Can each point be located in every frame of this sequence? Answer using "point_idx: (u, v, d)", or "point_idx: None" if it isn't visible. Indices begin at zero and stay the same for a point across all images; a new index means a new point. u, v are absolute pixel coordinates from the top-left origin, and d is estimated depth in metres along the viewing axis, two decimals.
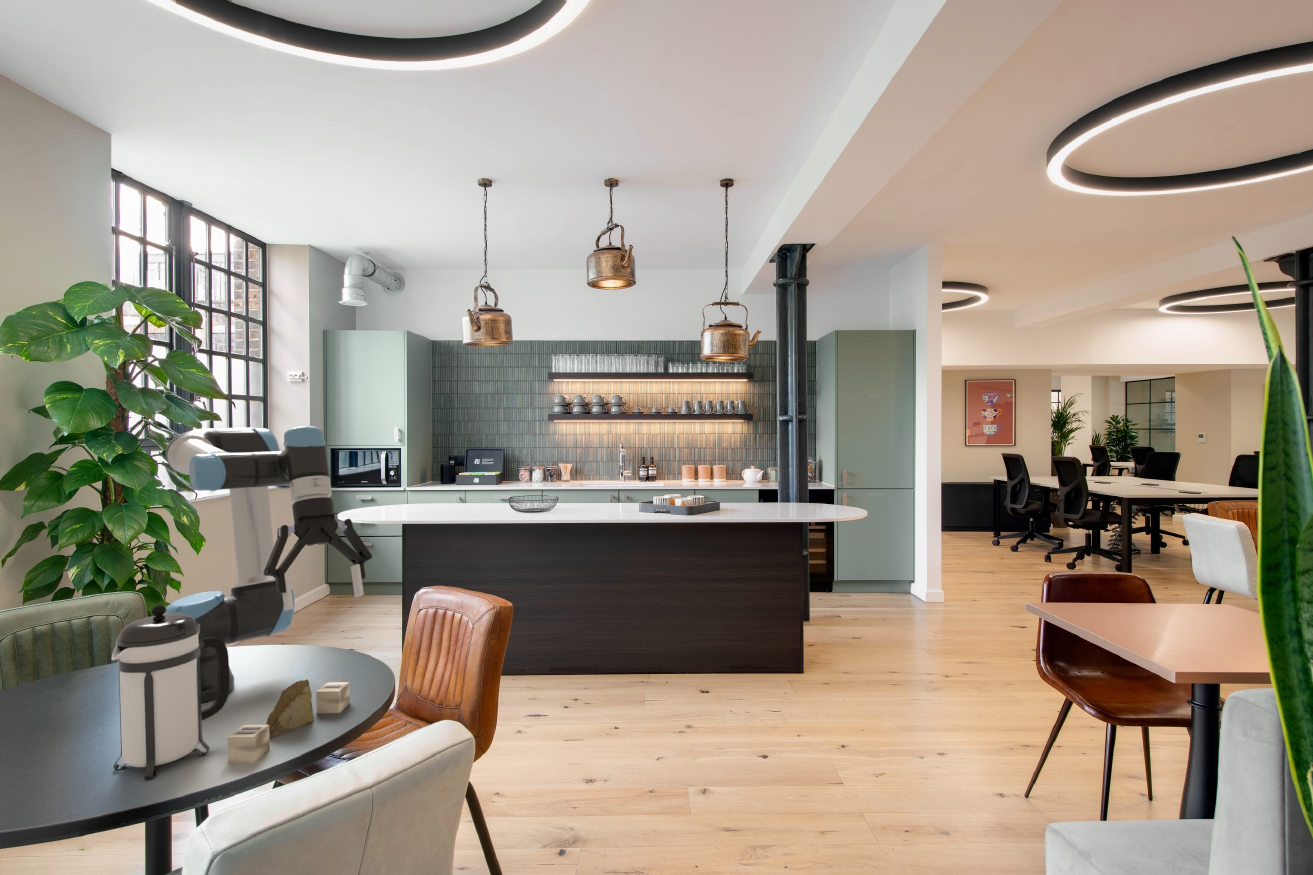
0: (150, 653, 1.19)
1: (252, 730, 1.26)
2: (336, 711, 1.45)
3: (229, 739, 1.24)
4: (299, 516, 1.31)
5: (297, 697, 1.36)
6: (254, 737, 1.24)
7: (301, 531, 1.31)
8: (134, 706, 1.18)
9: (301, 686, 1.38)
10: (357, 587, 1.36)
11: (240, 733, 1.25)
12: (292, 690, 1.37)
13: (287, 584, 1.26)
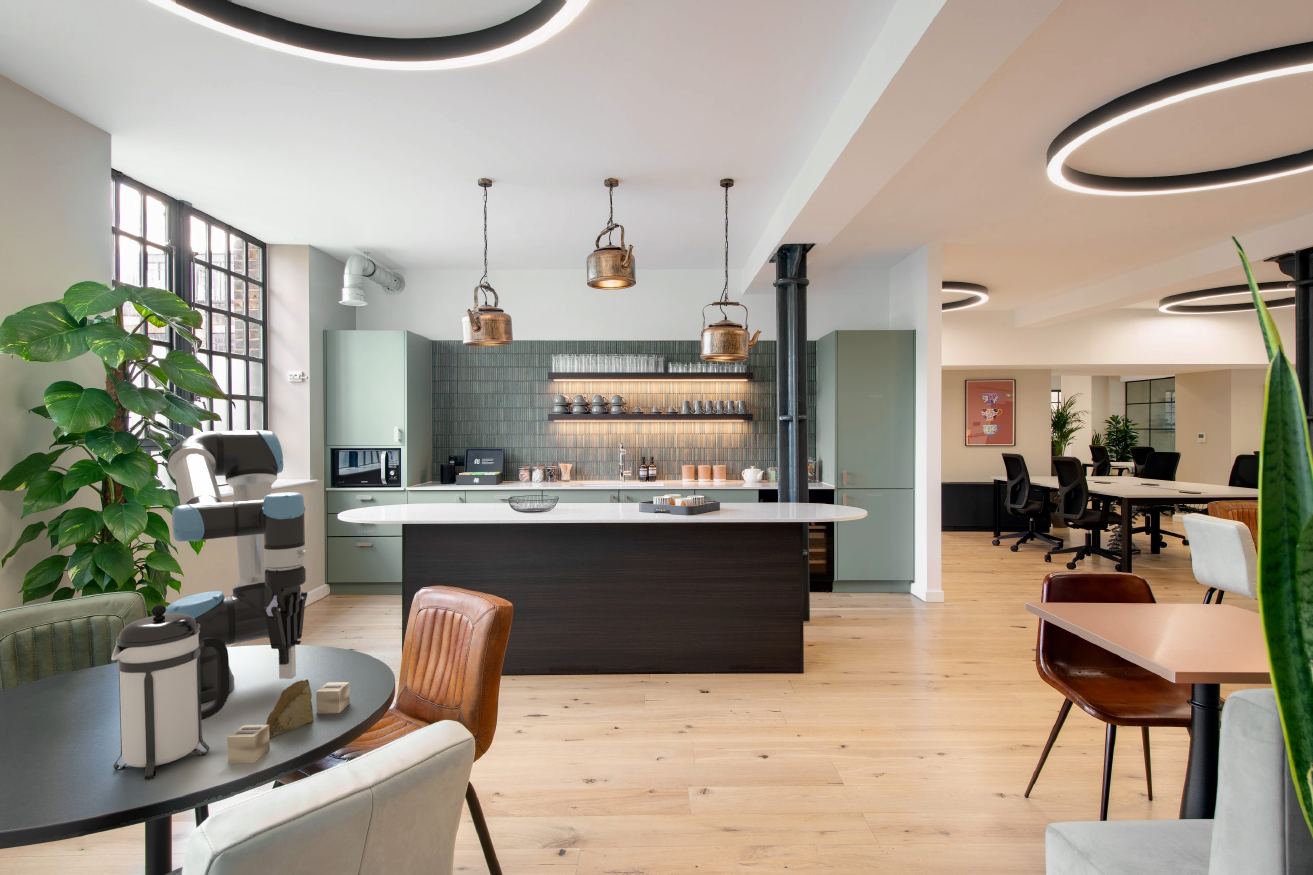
0: (150, 653, 1.19)
1: (252, 730, 1.26)
2: (336, 711, 1.45)
3: (229, 739, 1.24)
4: (283, 586, 1.34)
5: (297, 697, 1.36)
6: (254, 737, 1.24)
7: (282, 601, 1.34)
8: (134, 706, 1.18)
9: (301, 686, 1.38)
10: None
11: (240, 733, 1.25)
12: (292, 690, 1.37)
13: (292, 656, 1.37)
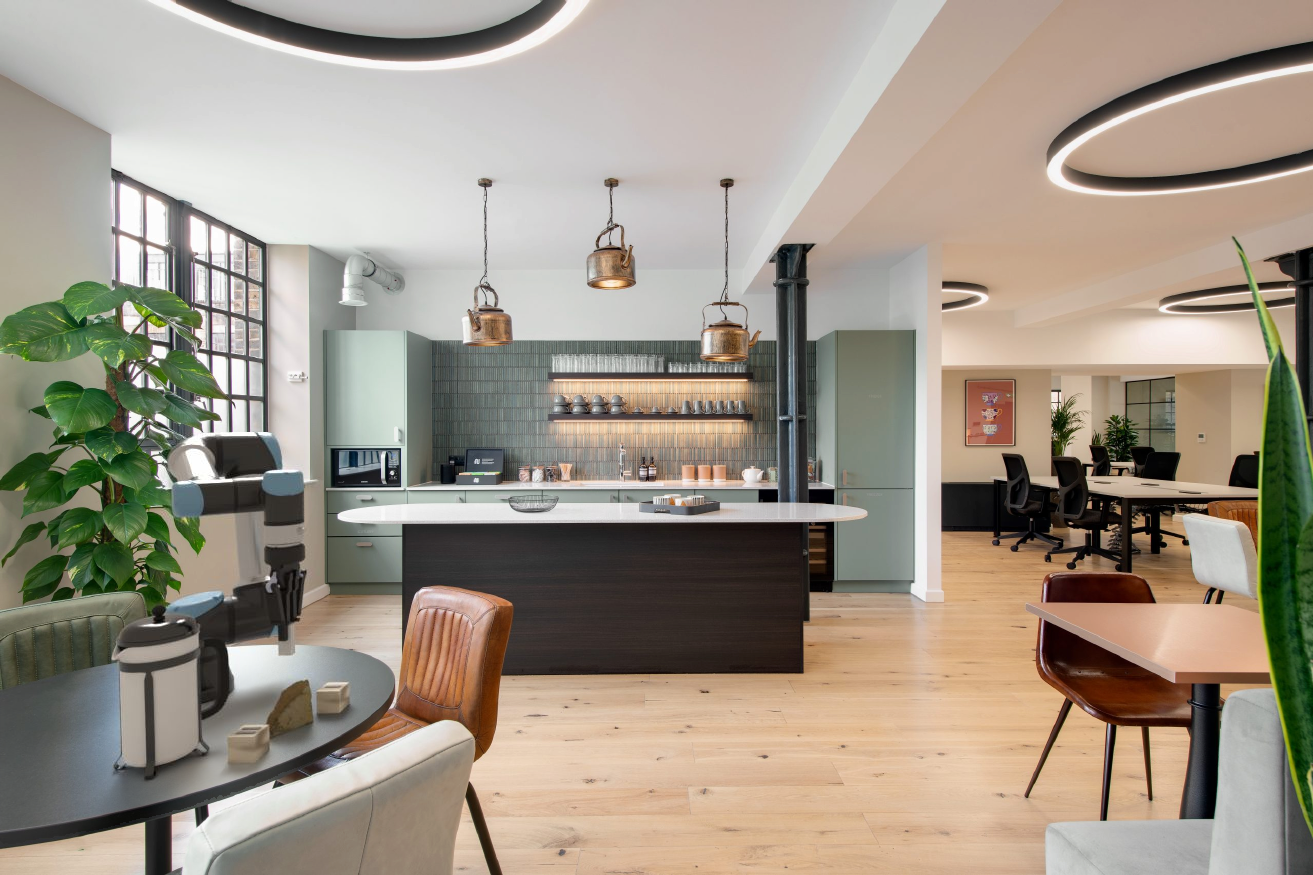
0: (150, 653, 1.19)
1: (252, 730, 1.26)
2: (336, 711, 1.45)
3: (229, 739, 1.24)
4: (283, 563, 1.34)
5: (297, 697, 1.36)
6: (254, 737, 1.24)
7: (281, 577, 1.34)
8: (134, 706, 1.18)
9: (301, 686, 1.38)
10: None
11: (240, 733, 1.25)
12: (292, 690, 1.37)
13: (291, 633, 1.37)
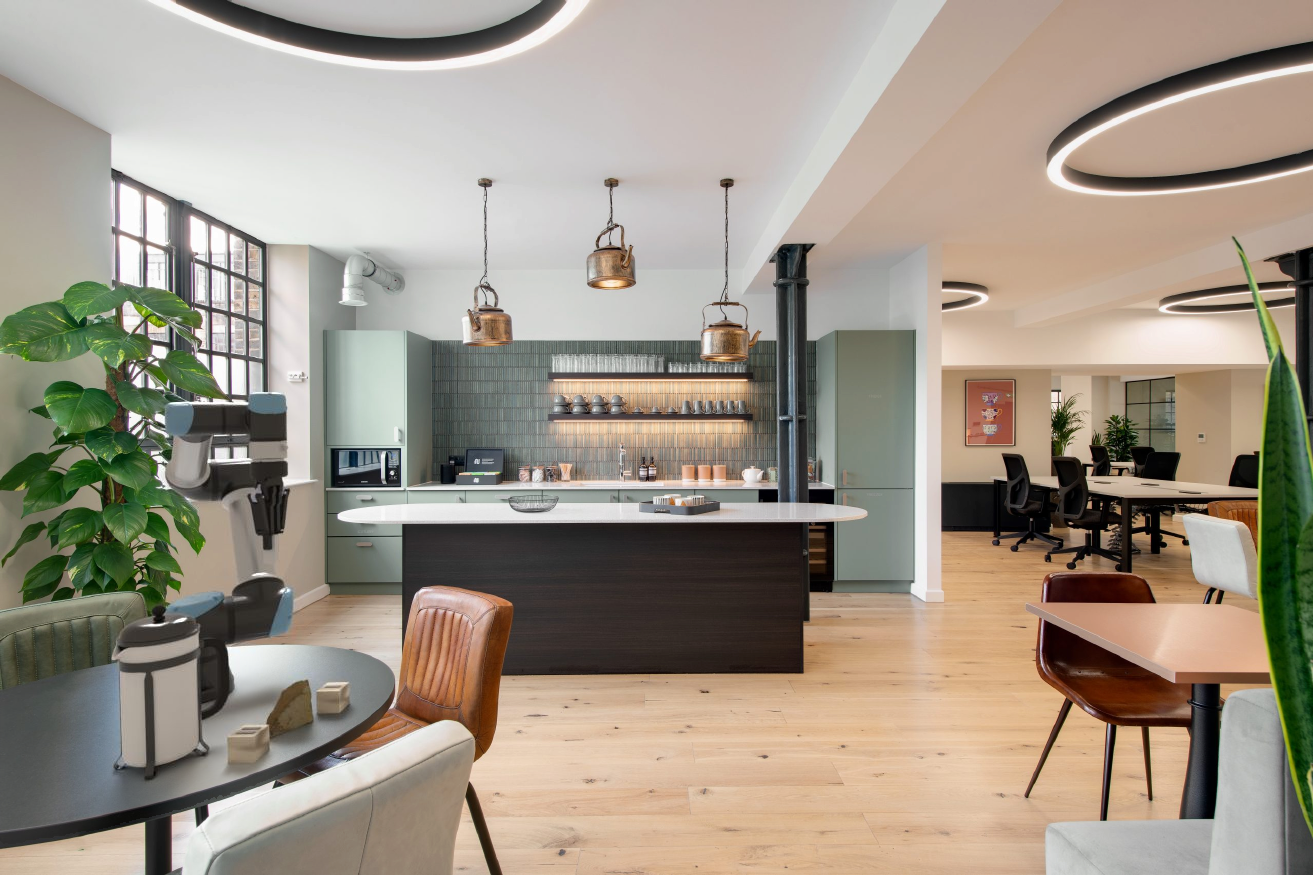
0: (150, 653, 1.19)
1: (252, 730, 1.26)
2: (336, 711, 1.45)
3: (229, 739, 1.24)
4: (266, 476, 1.46)
5: (297, 697, 1.36)
6: (254, 737, 1.24)
7: (265, 489, 1.46)
8: (134, 706, 1.18)
9: (301, 686, 1.38)
10: None
11: (240, 733, 1.25)
12: (292, 690, 1.37)
13: (275, 543, 1.49)
